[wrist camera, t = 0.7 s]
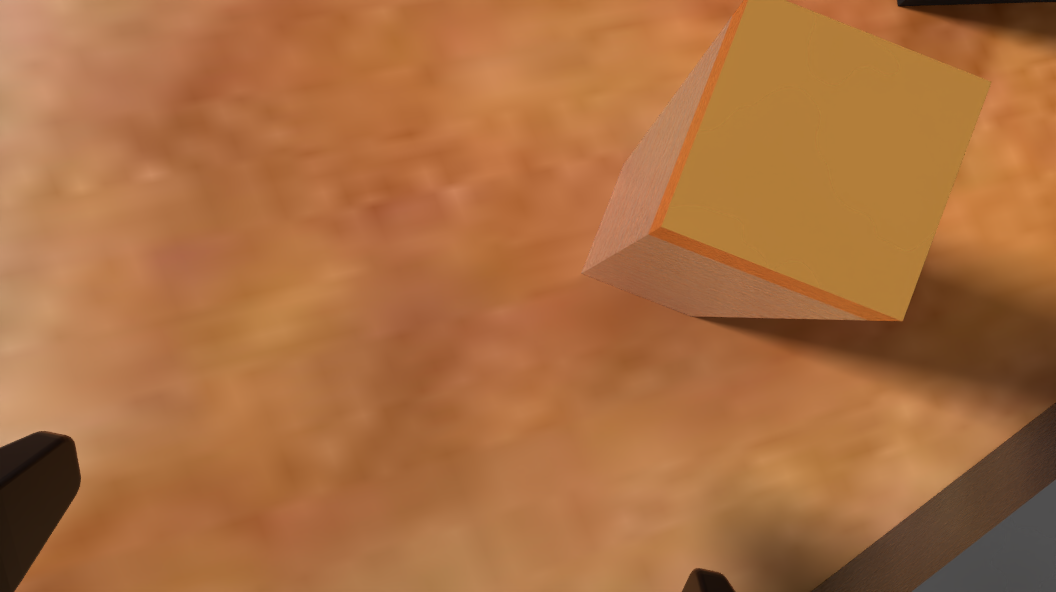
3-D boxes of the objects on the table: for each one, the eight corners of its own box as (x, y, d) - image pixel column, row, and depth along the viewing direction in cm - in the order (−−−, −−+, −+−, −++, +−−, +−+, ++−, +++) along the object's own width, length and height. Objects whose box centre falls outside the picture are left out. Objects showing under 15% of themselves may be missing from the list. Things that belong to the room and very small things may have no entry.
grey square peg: (690, 316, 23) (902, 321, 10) (581, 273, 23) (661, 226, 10) (732, 207, 23) (991, 81, 10) (623, 164, 23) (752, -13, 10)
